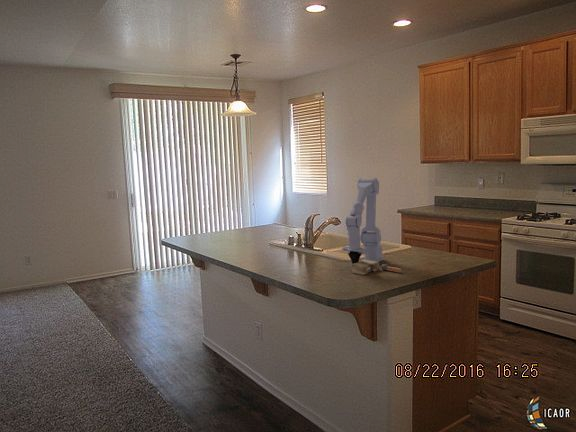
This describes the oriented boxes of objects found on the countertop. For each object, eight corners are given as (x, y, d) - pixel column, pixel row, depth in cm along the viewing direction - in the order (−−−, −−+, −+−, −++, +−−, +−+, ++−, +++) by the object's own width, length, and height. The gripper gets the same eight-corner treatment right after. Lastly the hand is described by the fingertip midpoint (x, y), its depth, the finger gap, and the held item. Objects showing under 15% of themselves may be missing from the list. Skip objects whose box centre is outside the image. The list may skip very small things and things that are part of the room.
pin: (353, 270, 236) (353, 264, 235) (360, 268, 239) (360, 262, 239) (366, 273, 229) (366, 267, 229) (373, 270, 233) (373, 264, 233)
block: (368, 267, 240) (367, 259, 239) (379, 269, 234) (378, 261, 234) (352, 272, 232) (351, 264, 231) (363, 274, 227) (362, 266, 226)
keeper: (380, 269, 233) (380, 265, 233) (384, 268, 235) (384, 264, 235) (399, 273, 225) (399, 268, 225) (402, 271, 227) (402, 267, 227)
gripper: (337, 239, 239) (339, 266, 241) (360, 242, 228) (361, 270, 230) (347, 237, 244) (348, 263, 245) (369, 240, 233) (370, 267, 234)
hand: (355, 266), depth 238 cm, fingers closed
